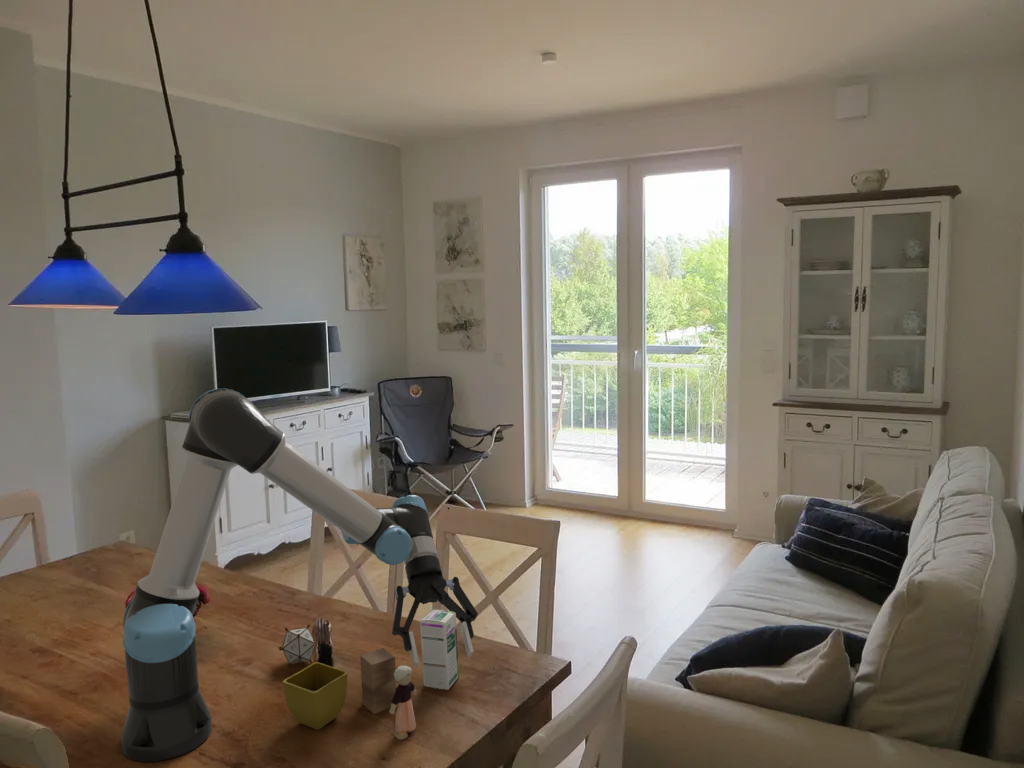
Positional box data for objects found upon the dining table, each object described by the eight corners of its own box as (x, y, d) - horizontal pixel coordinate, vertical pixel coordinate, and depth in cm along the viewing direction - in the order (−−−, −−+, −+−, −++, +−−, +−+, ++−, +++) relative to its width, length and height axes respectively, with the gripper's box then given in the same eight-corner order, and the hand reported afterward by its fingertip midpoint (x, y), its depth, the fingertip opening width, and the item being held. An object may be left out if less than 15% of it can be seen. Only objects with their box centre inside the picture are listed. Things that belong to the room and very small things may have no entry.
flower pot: (317, 739, 140) (314, 692, 139) (283, 726, 144) (281, 680, 143) (351, 716, 147) (348, 671, 146) (318, 704, 152) (316, 661, 151)
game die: (304, 682, 168) (304, 659, 162) (270, 666, 169) (269, 643, 163) (326, 647, 175) (326, 624, 168) (293, 632, 176) (292, 609, 169)
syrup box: (448, 690, 156) (446, 622, 154) (422, 686, 158) (419, 619, 156) (459, 677, 161) (457, 611, 159) (433, 673, 163) (431, 608, 161)
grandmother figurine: (407, 744, 137) (404, 677, 136) (387, 741, 138) (384, 674, 137) (423, 721, 145) (421, 657, 143) (404, 718, 146) (402, 655, 144)
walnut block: (374, 714, 148) (371, 664, 147) (362, 703, 152) (360, 655, 151) (397, 705, 151) (395, 657, 149) (385, 695, 155) (383, 647, 153)
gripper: (468, 561, 176) (493, 655, 163) (367, 577, 167) (385, 677, 155) (475, 546, 170) (501, 642, 157) (370, 561, 162) (389, 664, 149)
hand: (443, 659), depth 156 cm, fingers open, 11 cm apart
